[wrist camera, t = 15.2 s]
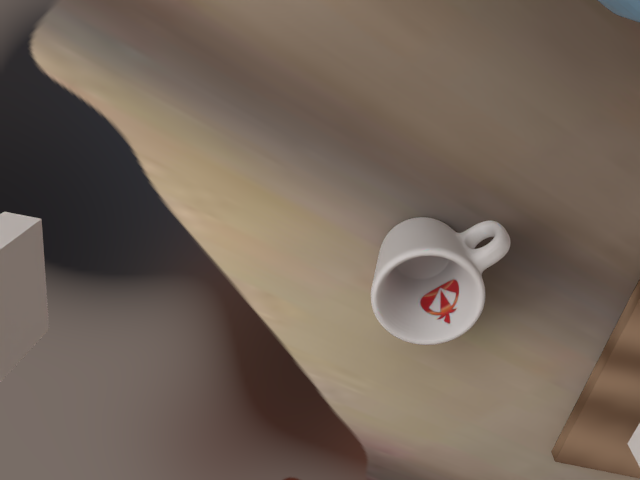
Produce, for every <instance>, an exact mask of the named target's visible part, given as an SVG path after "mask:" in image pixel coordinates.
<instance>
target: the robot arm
mask: <svg viewBox="0 0 640 480" xmlns="http://www.w3.org/2000/svg"><path fill="white" fill-rule="evenodd" d="M598 1H599V2H600V3H601V4H603V5H604V6H605V7H606V8H607V9H609V10H610V11H612V12H613V13H615V14H617V15H619V16H621V17H625V18H628V19H631V20H634V21H637V22H640V0H598ZM48 330H49V322H48V306H47V293H46V278H45V264H44V249H43V235H42V221H41V219H39V218H33V217H29V216H23V215H18V214H13V213H8V212H3V213H2V214H0V382H1V381H2V380H3V379H4V378H5V377H6V376H7V374H8V373H9V372H10V371H11V370H12V369H13V368H14V367H15V366H16V364H18V363H19V361H20V360H21V359H22V358H23V357H24V356H25V355H26V354H27V353H28V352H29V350H30V349H31V348H32V347H33V346H34V345H35V344H36V343H37V342H38V341H39V340H40V338H41V337H42V336H43V335H44V334H45V333H46V332H47V331H48ZM627 444H628V446H629V448H630V450H631V452H632V454H633V455H634V457H635V459H636V461H637V463H638V465H639V467H640V423H639V425H638V427H637V428H636V430H635V432H634V433H633V435H632V437H631V438H630V440H629V442H628V443H627Z"/></svg>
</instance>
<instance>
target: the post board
mask: <svg viewBox="0 0 640 480" xmlns="http://www.w3.org/2000/svg"><path fill="white" fill-rule="evenodd" d="M639 423H640V279H639V281H638V283H637V285H636V287H635V289H634V291H633V293H632V295H631V297H630V299H629V301H628V303H627V305H626V307H625V309H624V311H623V313H622V315H621V317H620V319H619V320H618V322H617V324H616V326H615V328H614V330H613V332H612V334H611V336H610V338H609V340H608V342H607V344H606V346H605V348H604V350H603V352H602V354H601V356H600V358H599V360H598V362H597V364H596V366H595V367H594V369H593V371H592V373H591V375H590V377H589V379H588V381H587V383H586V385H585V387H584V389H583V391H582V393H581V395H580V397H579V399H578V401H577V403H576V405H575V407H574V409H573V411H572V413H571V415H570V416H569V418H568V420H567V422H566V424H565V426H564V428H563V430H562V432H561V434H560V436H559V438H558V440H557V442H556V444H555V446H554V448H553V450H552V454H553V457H554V460H555V461H556V462H561V463H566V464H571V465H576V466H581V467H586V468H591V469H596V470H601V471H606V472H611V473H616V474H621V475H626V476H631V477H636V478H640V467H639V465H638V463H637V461H636V459H635V457H634V455H633V454H632V452H631V450H630V448H629V446H628V444H627V443H628V442H629V440H630V438H631V437H632V435H633V433H634V432H635V430H636V428H637V427H638V425H639Z"/></svg>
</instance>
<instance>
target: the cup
mask: <svg viewBox="0 0 640 480" xmlns="http://www.w3.org/2000/svg"><path fill="white" fill-rule="evenodd" d="M488 237H494V239H493V240H492V241H491V242H490V243H488V244H487V245H485V246H483V247H481V248H478V249H474V248H475V247H476V245H477V244H478V243H480V242H481V241H482V240H484V239H486V238H488ZM510 244H511V242H510V237H509V235H508V233H507V231H506V229H505V228H504V227H503V226H502V225H501V224H500V223H498V222H496V221H484V222H481V223H478V224H476V225H474V226H473V227H471V228H469V229H467V230H466V231H464V232H462V233H457V232H455V231H454V230H453V229H452V228H450V227H449V226H448V225H447V224H445V223H443V222H441V221H439V220H436V219H433V218H427V217H417V218H412V219H408V220H406V221H403V222H401V223H399V224H398V225H396V226H395V227H394V228H393V229H392V230H391V231H390V232H389V233H388V234H387V236H386V237H385V239H384V241H383V243H382V245H381V248H380V252H379V256H378V261H377V265H376V270H375V275H374V279H373V284H372V289H371V304H372V308H373V311H374V314H375V316H376V318H377V319H378V321H379V322H380V324H381V325H382V326H383V327H384V328H385V329H386V330H387V331H388V332H389V333H391V334H392V335H394V336H395V337H397V338H399V339H401V340H404V341H406V342H410V343H414V344H421V345H433V344H440V343H444V342H448V341H451V340H453V339H455V338H457V337H459V336H461V335H462V334H464V333H465V332H467V331H468V330H469V329H470V328H471V327H472V326H473V325H474V324H475V323H476V321H477V320H478V318H479V317H480V315H481V313H482V310H483V308H484V304H485V286H484V282H483V279H482V272H483V271H484V270H485V269H487V268H488V267H490V266H492V265H493V264H495V263H496V262H498V261H499V260H500V259H502V258H503V257H504V256H505V255H506V253H507V252H508V251H509V249H510Z"/></svg>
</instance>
